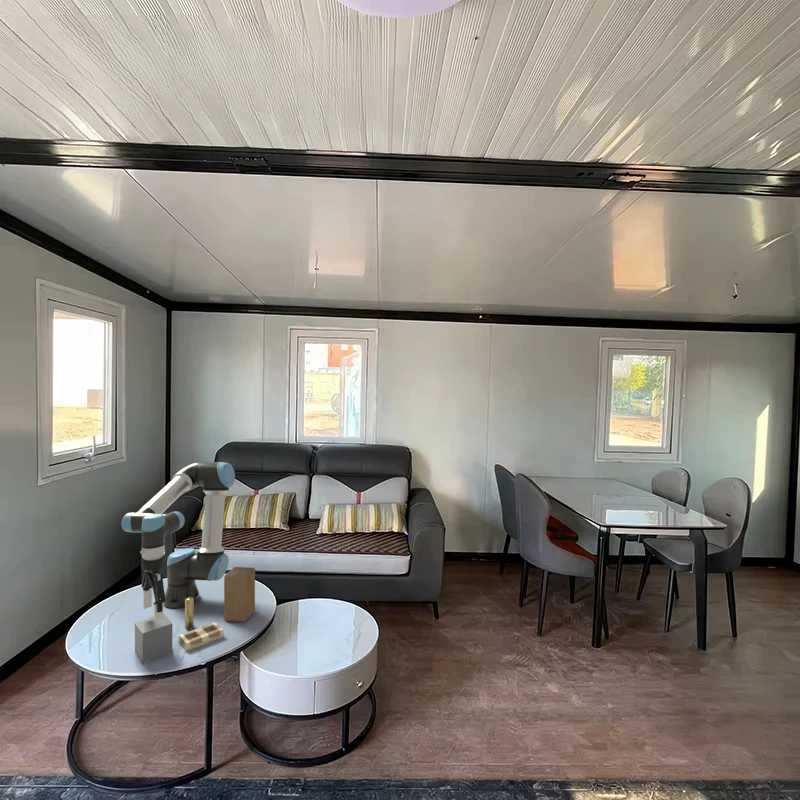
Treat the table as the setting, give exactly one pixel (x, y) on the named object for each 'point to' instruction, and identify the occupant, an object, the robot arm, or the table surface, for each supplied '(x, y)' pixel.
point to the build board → (200, 636)
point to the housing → (153, 639)
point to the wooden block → (239, 594)
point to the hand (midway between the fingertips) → (152, 613)
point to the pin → (189, 613)
